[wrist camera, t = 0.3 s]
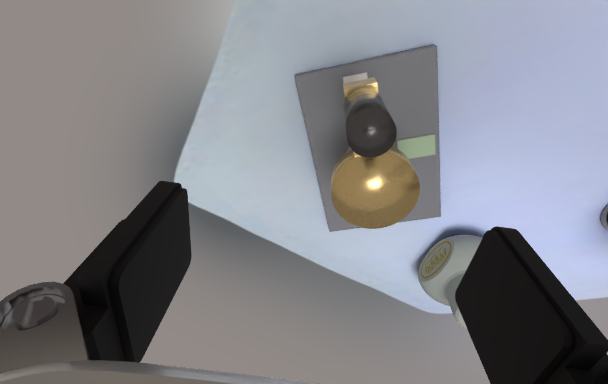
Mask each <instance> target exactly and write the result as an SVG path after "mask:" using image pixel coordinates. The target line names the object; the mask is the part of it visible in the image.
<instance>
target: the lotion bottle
mask: <svg viewBox="0 0 608 384" xmlns="http://www.w3.org/2000/svg"><path fill="white" fill-rule="evenodd" d="M601 222H602V224H603V226H604V227H605V228H606V229H607V230H608V205H607V206H606V208H605V209H604V210H603V212H602V215H601Z"/></svg>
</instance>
